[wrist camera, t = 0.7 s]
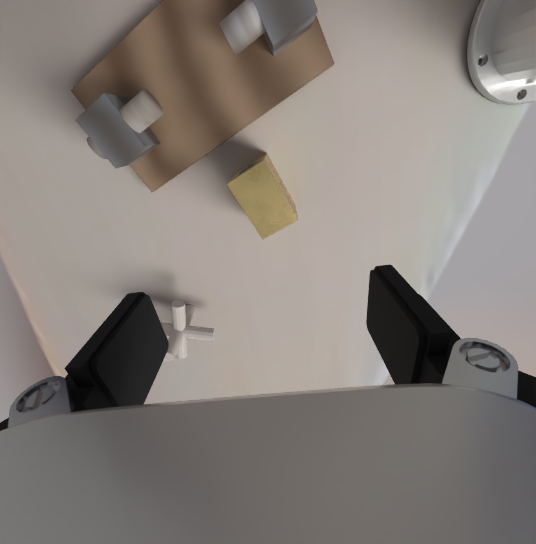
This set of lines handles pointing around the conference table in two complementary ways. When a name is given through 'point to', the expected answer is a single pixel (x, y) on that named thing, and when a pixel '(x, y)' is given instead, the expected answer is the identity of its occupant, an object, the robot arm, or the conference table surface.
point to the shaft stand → (197, 80)
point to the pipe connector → (183, 331)
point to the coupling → (263, 197)
